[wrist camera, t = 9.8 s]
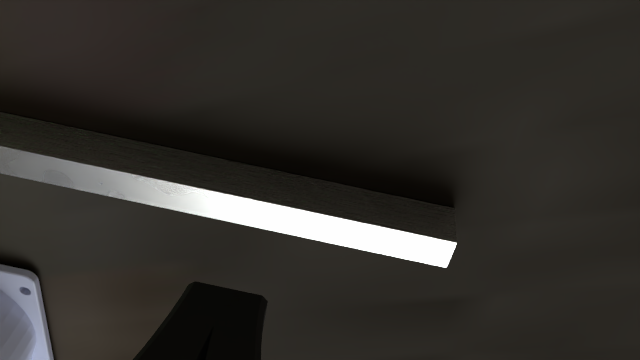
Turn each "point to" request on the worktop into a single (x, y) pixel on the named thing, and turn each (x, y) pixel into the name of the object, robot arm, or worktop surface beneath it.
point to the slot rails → (227, 190)
